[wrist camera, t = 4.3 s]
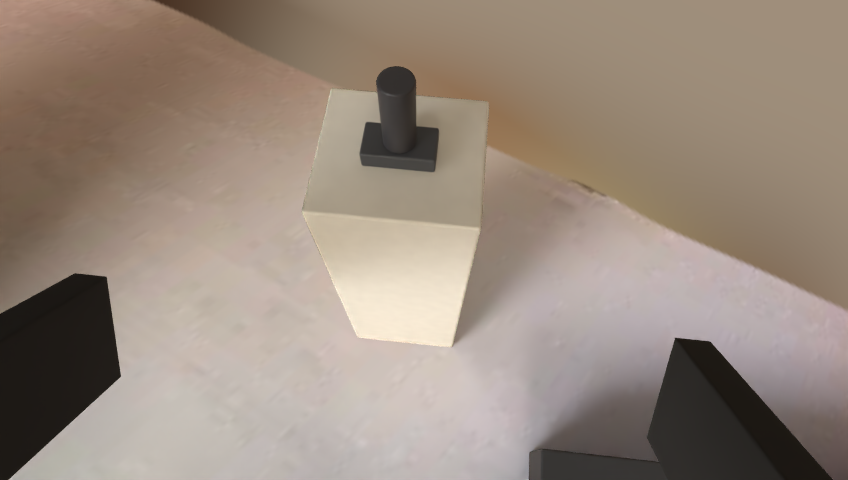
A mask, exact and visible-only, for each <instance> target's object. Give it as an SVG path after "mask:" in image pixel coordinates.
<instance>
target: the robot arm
mask: <svg viewBox="0 0 848 480" xmlns="http://www.w3.org/2000/svg"><path fill="white" fill-rule="evenodd" d="M120 377H121V374H120V367H119V360H118V353H117V346H116V339H115V332H114V325H113V318H112V311H111V304H110V297H109V291H108V284H107V277H104V276H95V275H85V274H76V273H75V274H73V275H71V276H69V277H67V278H66V279H64V280H62V281H60V282H58V283H56V284H54V285H53V286H51V287H49V288H47V289H45V290H43V291H42V292H40V293H38V294H36V295H34V296H32V297H30V298H29V299H27V300H25V301H23V302H21V303H19V304H18V305H16V306H14V307H12V308H10V309H8V310H6V311H5V312H3V313H1V314H0V480H8V479H10V478H11V477H12V476H13V475H14V474H15V473H16V472H17V471H18V470H19V469H20V468H22V467H23V466H24V465H25V464H26V463H27V462H28V461H29V460H30V459H31V458H32V457H34V456H35V455H36V454H37V453H38V452H39V451H40V450H41V449H42V448H43V447H44V446H46V445H47V444H48V443H49V442H50V441H51V440H52V439H53V438H54V437H55V436H56V435H58V434H59V433H60V432H61V431H62V430H63V429H64V428H65V427H66V426H67V425H68V424H70V423H71V422H72V421H73V420H74V419H75V418H76V417H77V416H78V415H79V414H80V413H82V412H83V411H84V410H85V409H86V408H87V407H88V406H89V405H90V404H91V403H92V402H94V401H95V400H96V399H97V398H98V397H99V396H100V395H101V394H102V393H103V392H104V391H106V390H107V389H108V388H109V387H110V386H111V385H112V384H113V383H114V382H115V381H116V380H118V379H119V378H120ZM647 439H648V441H649V443H650V445H651V447H652V449H653V451H654V453H655V455H656V457H657V459H658V461H659V463H660V465H661V467H662V469H663V471H664V473H665V475H666V477H667V479H668V480H833V479H832V478H831V477H830V476H829V475H828V474H827V473H826V471H825V470H824V469H823V468H822V467H821V466H820V465H819V464H818V462H817V461H816V460H815V459H814V458H813V457H812V456H811V455H810V453H809V452H808V451H807V450H806V449H805V448H804V447H803V446H802V444H801V443H800V442H799V441H798V440H797V439H796V438H795V437H794V435H793V434H792V433H791V432H790V431H789V430H788V429H787V428H786V426H785V425H784V424H783V423H782V422H781V421H780V420H779V418H778V417H777V416H776V415H775V414H774V413H773V412H772V411H771V409H770V408H769V407H768V406H767V405H766V404H765V403H764V402H763V400H762V399H761V398H760V397H759V396H758V395H757V394H756V393H755V391H754V390H753V389H752V388H751V387H750V386H749V385H748V384H747V382H746V381H745V380H744V379H743V378H742V377H741V376H740V375H739V373H738V372H737V371H736V370H735V369H734V368H733V367H732V366H731V364H730V363H729V362H728V361H727V360H726V359H725V358H724V357H723V355H722V354H721V353H720V352H719V351H718V350H717V349H716V348H715V346H714V345H713V344H712V343H711V342H709V341H700V340H691V339H681V338H675V341H674V344H673V348H672V351H671V355H670V358H669V362H668V365H667V369H666V372H665V376H664V379H663V383H662V386H661V389H660V393H659V396H658V400H657V403H656V407H655V410H654V414H653V417H652V421H651V424H650V428H649V431H648V435H647Z"/></svg>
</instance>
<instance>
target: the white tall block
mask: <svg viewBox="0 0 848 480" xmlns="http://www.w3.org/2000/svg"><path fill="white" fill-rule="evenodd" d="M376 85H377V92H373V91H362V90H350V89H339V88H332V89H331V90H330V94H329V98H328V103H327V107H326V111H325V115H324V119H323V124H322V128H321V132H320V136H319V140H318V145H317V149H316V153H315V157H314V161H313V166H312V170H311V174H310V178H309V182H308V187H307V191H306V195H305V199H304V203H303V208H302V214H303V216H304V219H305V221H306V223H307V225H308V228H309V230H310V232H311V234H312V237H313V239H314V241H315V243H316V246H317V248H318V250H319V252H320V255H321V257H322V259H323V261H324V263H325V266H326V268H327V270H328V272H329V275H330V277H331V279H332V281H333V284H334V286H335V288H336V290H337V293H338V295H339V297H340V299H341V302H342V304H343V306H344V308H345V310H346V313H347V315H348V317H349V319H350V322H351V324H352V326H353V328H354V331H355V333H356V335H357V337H358V338H367V339H376V340H386V341H395V342H404V343H414V344H423V345H433V346H442V347H452V346H453V342H454V338H455V334H456V330H457V326H458V322H459V318H460V314H461V310H462V306H463V302H464V297H465V293H466V289H467V285H468V281H469V277H470V273H471V269H472V265H473V261H474V257H475V253H476V248H477V244H478V240H479V236H480V232H481V227H482V211H483V195H484V179H485V163H486V147H487V130H488V114H489V104H488V102H487V101H477V100H465V99H454V98H443V97H430V96H420V95H416V79H415V77H414V75H413V73H412V72H411V71H410V70H408V69H406V68H404V67H399V66H394V67H389V68H387V69H384V70H383V71H382V72H381V73H380V74H379V76H378V77H377V80H376Z"/></svg>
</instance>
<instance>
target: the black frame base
mask: <svg viewBox="0 0 848 480" xmlns="http://www.w3.org/2000/svg"><path fill="white" fill-rule="evenodd" d="M529 480H668V479H667V477H666V475H665V473H664V471H663V469H662V467H661V465H660V463H659V462H657V461H648V460H639V459H630V458H621V457H612V456H603V455H594V454H586V453H577V452H568V451H559V450H550V449H539V450H535V451H531V452H530V454H529Z"/></svg>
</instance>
